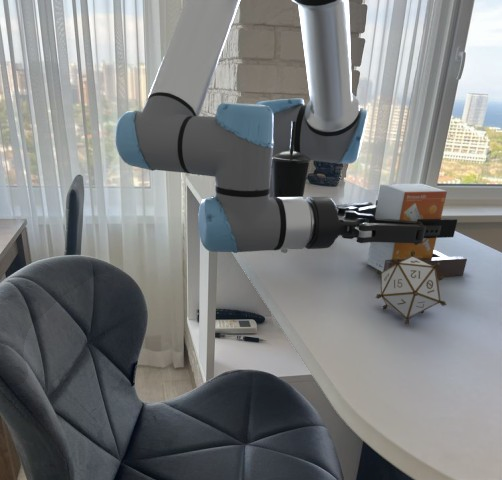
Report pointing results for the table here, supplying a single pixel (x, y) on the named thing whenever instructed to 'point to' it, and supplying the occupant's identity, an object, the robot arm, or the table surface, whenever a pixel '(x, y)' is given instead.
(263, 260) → the table surface
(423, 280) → the game die
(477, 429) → the table surface
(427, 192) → the small box
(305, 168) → the drinking cup
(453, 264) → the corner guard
